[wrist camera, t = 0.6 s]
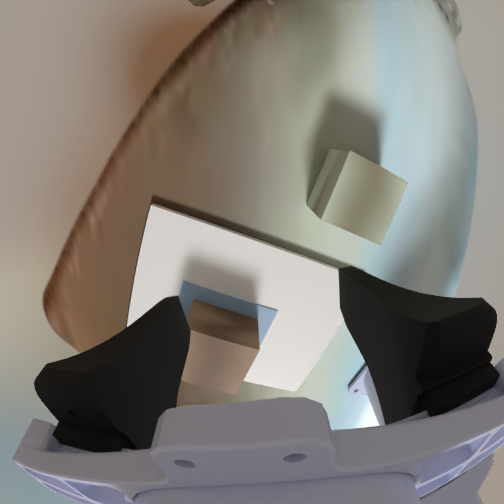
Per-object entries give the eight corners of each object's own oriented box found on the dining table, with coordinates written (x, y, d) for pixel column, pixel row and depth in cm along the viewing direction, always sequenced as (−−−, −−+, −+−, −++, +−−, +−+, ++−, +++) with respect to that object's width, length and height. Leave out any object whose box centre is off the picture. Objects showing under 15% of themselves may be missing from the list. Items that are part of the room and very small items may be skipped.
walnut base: (258, 318, 23) (259, 349, 19) (236, 363, 25) (235, 394, 21) (194, 298, 22) (184, 327, 19) (179, 346, 24) (170, 376, 20)
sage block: (378, 173, 20) (408, 182, 15) (356, 225, 21) (380, 245, 17) (328, 148, 19) (349, 150, 15) (306, 204, 20) (320, 219, 16)
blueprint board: (363, 277, 23) (366, 281, 22) (295, 387, 27) (295, 392, 27) (153, 203, 20) (150, 205, 19) (126, 339, 25) (124, 343, 24)
